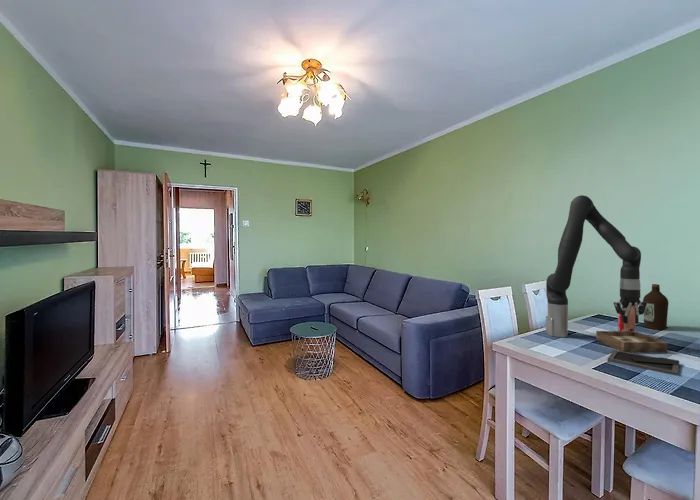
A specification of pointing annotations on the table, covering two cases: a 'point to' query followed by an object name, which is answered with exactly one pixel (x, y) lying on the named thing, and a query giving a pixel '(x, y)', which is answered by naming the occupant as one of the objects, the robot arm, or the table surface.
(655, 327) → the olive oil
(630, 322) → the dowel peg
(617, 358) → the picture frame
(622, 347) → the wooden tray
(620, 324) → the soda can
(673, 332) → the table surface
